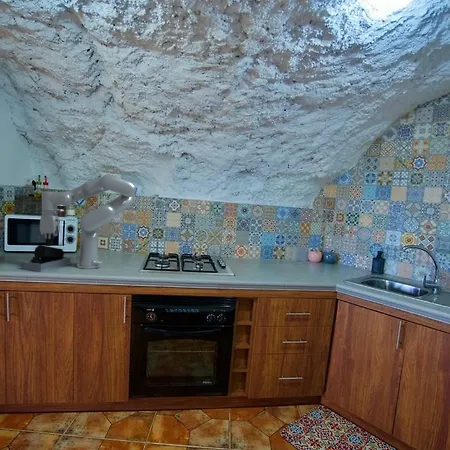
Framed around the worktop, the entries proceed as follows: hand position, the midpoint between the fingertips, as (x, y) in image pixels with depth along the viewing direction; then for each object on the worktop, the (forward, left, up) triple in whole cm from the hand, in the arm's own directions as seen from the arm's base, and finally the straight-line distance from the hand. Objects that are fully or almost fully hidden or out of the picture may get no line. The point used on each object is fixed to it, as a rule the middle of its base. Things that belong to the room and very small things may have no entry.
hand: (49, 245), depth 180 cm
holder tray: (0, 0, -12) cm, 12 cm away
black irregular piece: (+1, +2, -11) cm, 11 cm away
